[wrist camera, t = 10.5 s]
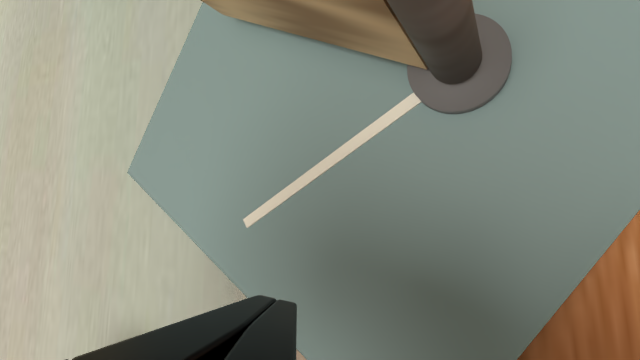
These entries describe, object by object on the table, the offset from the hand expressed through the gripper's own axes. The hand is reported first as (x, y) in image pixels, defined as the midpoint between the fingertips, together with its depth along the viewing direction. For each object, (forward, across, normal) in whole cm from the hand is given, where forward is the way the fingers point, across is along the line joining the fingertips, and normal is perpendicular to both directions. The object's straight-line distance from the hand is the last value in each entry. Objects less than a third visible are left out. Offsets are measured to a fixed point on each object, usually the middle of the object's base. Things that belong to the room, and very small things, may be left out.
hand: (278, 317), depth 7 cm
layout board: (+10, -2, +2) cm, 11 cm away
